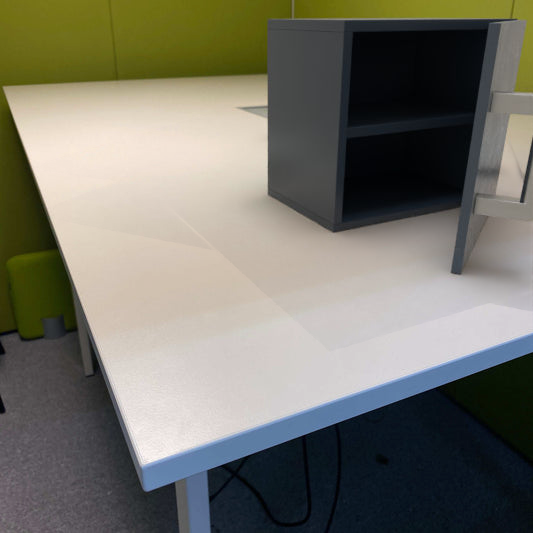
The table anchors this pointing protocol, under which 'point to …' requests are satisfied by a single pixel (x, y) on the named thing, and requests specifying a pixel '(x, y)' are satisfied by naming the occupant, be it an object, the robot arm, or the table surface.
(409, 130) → the cabinet
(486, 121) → the door
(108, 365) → the table surface
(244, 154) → the table surface
